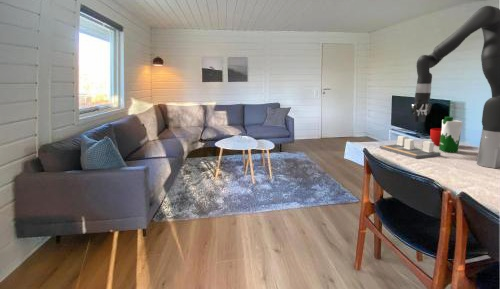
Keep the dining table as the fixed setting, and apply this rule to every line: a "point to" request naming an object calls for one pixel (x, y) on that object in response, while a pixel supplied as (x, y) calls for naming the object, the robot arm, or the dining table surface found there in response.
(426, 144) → the block
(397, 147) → the panel
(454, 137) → the milk carton
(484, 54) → the robot arm
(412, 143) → the block
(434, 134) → the ceramic cup
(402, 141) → the block
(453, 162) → the dining table surface
